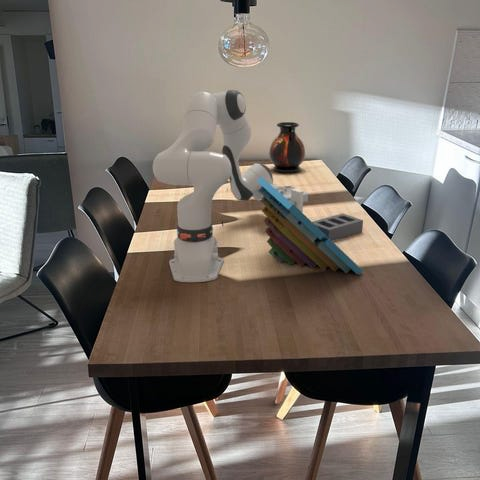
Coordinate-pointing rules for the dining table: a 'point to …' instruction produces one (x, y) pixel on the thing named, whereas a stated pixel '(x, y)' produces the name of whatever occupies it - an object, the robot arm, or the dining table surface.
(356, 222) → the stand
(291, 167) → the black and orange vase
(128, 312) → the dining table surface
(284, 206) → the stacked coloured sheets
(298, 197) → the white rectangular block
